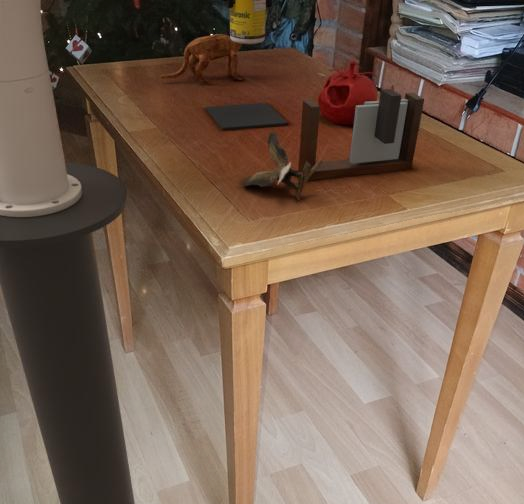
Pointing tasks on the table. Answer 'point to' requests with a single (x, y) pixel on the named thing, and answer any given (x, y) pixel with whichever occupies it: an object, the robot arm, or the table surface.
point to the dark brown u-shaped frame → (344, 166)
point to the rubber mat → (245, 116)
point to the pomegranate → (345, 94)
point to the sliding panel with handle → (378, 129)
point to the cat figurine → (209, 55)
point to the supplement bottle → (248, 21)
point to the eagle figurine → (282, 169)
